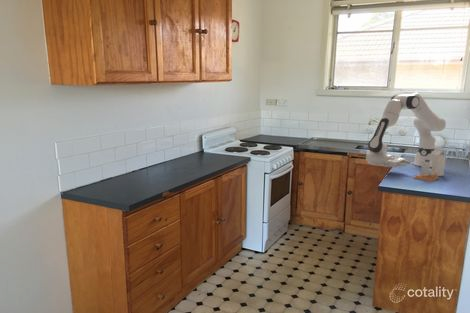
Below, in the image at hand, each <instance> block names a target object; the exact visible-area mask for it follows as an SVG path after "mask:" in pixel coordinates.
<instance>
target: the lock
mask: <svg viewBox="0 0 470 313" xmlns="http://www.w3.org/2000/svg"><path fill="white" fill-rule="evenodd" d="M431 169H432V161H430V160H427V159H426V160H424V161H422V166H421V169H420V173H421V176H423V177H429V178H430V177H431Z"/></svg>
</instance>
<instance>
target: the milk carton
mask: <svg viewBox="0 0 470 313" xmlns="http://www.w3.org/2000/svg"><path fill="white" fill-rule="evenodd" d="M434 148H435V150H434V151H433V152H431V153H430V161H432V169H431V175H432V174H434V173H437V177H442V176H444V175H445V166H446V159H447V154H446V152H444V150H443V149H441V148H437V147H434Z"/></svg>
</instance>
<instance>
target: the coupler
mask: <svg viewBox="0 0 470 313" xmlns="http://www.w3.org/2000/svg"><path fill="white" fill-rule="evenodd" d="M413 179H414V180H420V181H426V182H435V181H436V180H437V179H439V176H437V173H434V174H432V175H431V177H430V178H429V177H423V176H421V172H420V173H418V174H416V175H415V176H413Z"/></svg>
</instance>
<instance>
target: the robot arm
mask: <svg viewBox="0 0 470 313" xmlns="http://www.w3.org/2000/svg"><path fill="white" fill-rule="evenodd" d="M402 110H411V112H412V113H413V115H414V117H415V118H414V120H413V127H414V128H416V130H417V131H418V132H417V133H418V137H419V144H418V148H417V152H416V153H415V155H414V162H412V161H409V160H407V158H404V157H401V156H396V155H394V154H393V155H391V154H387V152H388V145H387V144H386V143H385V142H384V141H383V139H384V135H385V133H386V131H387V129H389V128H390V127H393V126H395V125H396V124H397V123H398V120H399V117H400V116H401V111H402ZM446 125H447V124H446V120H445V119H444V118H442V117H441V116H439V115H437V114H436V113H435V112H434V111H433V110H432V109H431V108H430V107H429V105H428V104H427V103H426V101H425V99H424V98H423V97H422V96H421V95H420V93H418V92H414V93H410V94H406V93H404V94H395V95H392V97H391V98H390V100H389V101H388V102H387V104H386V106H385V108H384V111H383V114H382V116H381V118H380V120H379V123H378V125H377V127H376V129H375V132H374V134H373V136H372V137H371V138H370V140H368V144H367V148H368V150H369V151H368V152H367V153H366V154H365V160H366V162H367V164H369V165H373V166H382V167H385V168H386V167H387V168H391V167H393V168H398V167H406V166H407V165H415V166H417V167H422V161H424V160H426V159H427V160H430V153H431V152H433V151H434V150H435V148H436V147H435V146H436V137H435V136H433V134H432V132H443V130H445V129H446Z"/></svg>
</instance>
